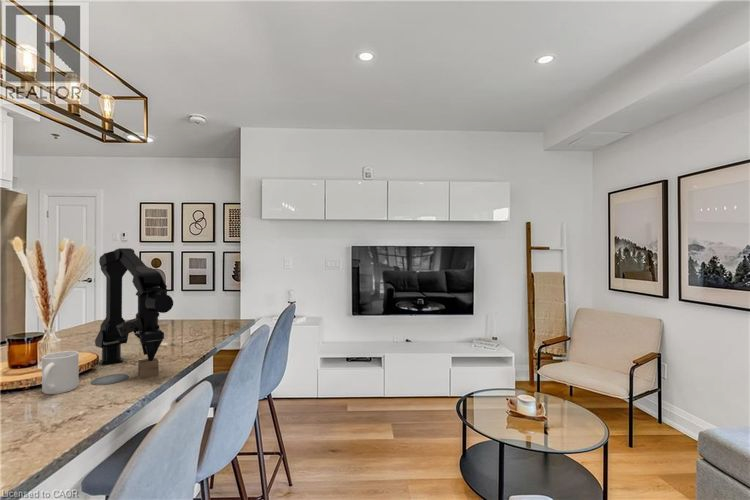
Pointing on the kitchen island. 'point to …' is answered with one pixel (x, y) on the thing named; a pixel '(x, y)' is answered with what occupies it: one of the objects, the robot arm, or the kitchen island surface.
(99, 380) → the slate coaster
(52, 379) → the mug
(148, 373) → the walnut block
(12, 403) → the kitchen island surface
